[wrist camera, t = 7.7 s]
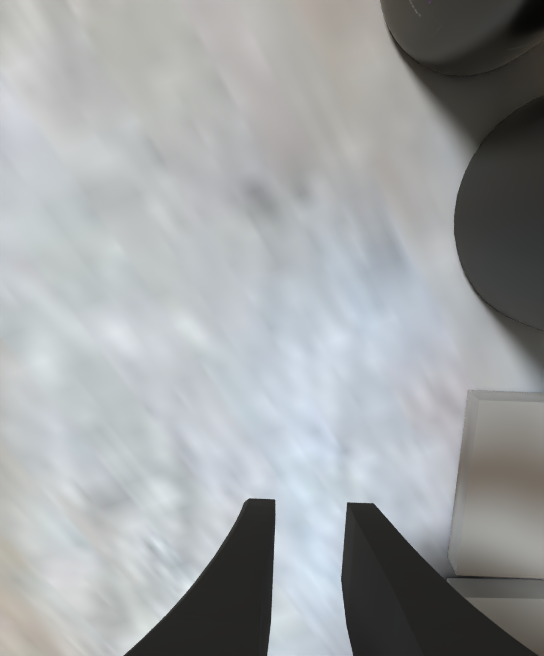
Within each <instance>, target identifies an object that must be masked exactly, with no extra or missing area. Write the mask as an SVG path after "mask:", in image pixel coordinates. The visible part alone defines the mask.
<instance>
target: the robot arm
mask: <svg viewBox="0 0 544 656" xmlns="http://www.w3.org/2000/svg"><path fill="white" fill-rule="evenodd" d="M274 536H275V500H274V499H248V500H247V501H246V502H244V504H243V507H242V510H241V512H240V514H239V516H238V518H237V520H236V522H235V524H234V525H233V527H232V529H231V531H230V532H229V534H228V536H227V537H226V539H225V540H224V542H223V544H222V545H221V547H220V548H219V550H218V551H217V553H216V554H215V556H214V557H213V559H212V560H211V561H210V563H209V564H208V565H207V567H206V568H205V569H204V571H203V572H202V573H201V575H200V576H199V577H198V579H197V580H196V581H195V583H194V584H193V585H192V586H191V588H190V589H189V590H188V591H187V592H186V594H185V595H184V596H183V597H182V598H181V599H180V600H179V602H178V603H177V604H176V605H175V606H174V607H173V608H172V609H171V610H170V611H169V613H168V614H167V615H166V616H165V617H164V618H163V619H162V620H161V621H160V622H159V623H158V624H157V625H156V626H155V627H154V628H153V629H152V630H151V631H150V632H149V633H148V634H147V635H146V636H145V637H144V638H142V639H141V640H140V641H139V642H138V643H137V644H136V645H135V646H134V647H133V648H132V649H131V650H129V651H128V652H127V653H126V654H125V655H124V656H267V652H268V643H269V634H270V626H271V608H272V584H273V560H274ZM341 582H342V591H343V600H344V608H345V617H346V625H347V629H348V634H349V638H350V643H351V647H352V652H353V656H539V655H537V654H536V653H534V652H533V651H531V650H530V649H528V648H527V647H526V646H524V645H523V644H522V643H520V642H519V641H517V640H516V639H515V638H513V637H512V636H511V635H509V634H508V633H507V632H505V631H504V630H503V629H502V628H500V627H499V626H498V625H497V624H495V623H494V622H493V621H492V620H490V619H489V618H488V617H487V616H486V615H484V614H483V613H482V612H481V611H479V610H478V609H477V608H476V607H474V606H473V605H472V604H471V603H470V602H469V601H468V600H466V599H465V598H464V597H463V596H462V595H461V594H460V593H459V592H457V591H456V590H455V589H454V588H453V587H452V586H451V585H450V584H449V583H448V582H447V581H446V580H445V579H444V578H442V577H441V576H440V575H439V574H438V573H437V572H436V571H435V570H434V569H433V568H432V567H431V566H430V565H429V564H428V563H427V562H426V561H425V560H424V559H423V558H422V557H421V556H420V555H419V553H418V552H417V551H416V550H415V549H414V548H413V547H412V546H411V545H410V544H409V543H408V542H407V541H406V539H405V538H404V537H403V536H402V535H401V534H400V533H399V532H398V530H397V529H396V528H395V527H394V526H393V525H392V524H391V522H390V521H389V520H388V519H387V518H386V517H385V516H384V515H383V513H382V512H381V511H380V510H379V509H378V508H377V507H376V505H375V504H374V503H349V502H347V512H346V524H345V537H344V550H343V563H342V576H341Z"/></svg>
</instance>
